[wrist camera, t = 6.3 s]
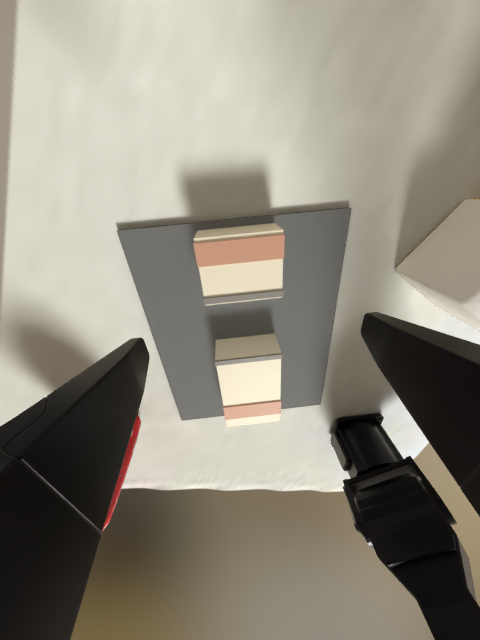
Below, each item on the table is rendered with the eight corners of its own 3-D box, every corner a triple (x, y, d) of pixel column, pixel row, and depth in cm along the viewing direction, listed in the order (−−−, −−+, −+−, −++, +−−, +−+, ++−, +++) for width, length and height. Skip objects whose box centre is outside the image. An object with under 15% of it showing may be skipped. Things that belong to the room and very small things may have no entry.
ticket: (275, 333, 23) (282, 353, 20) (275, 399, 28) (280, 422, 26) (215, 339, 23) (214, 360, 20) (226, 404, 28) (226, 428, 26)
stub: (274, 222, 18) (284, 229, 15) (274, 283, 20) (283, 298, 18) (196, 230, 18) (192, 239, 15) (206, 290, 20) (204, 306, 17)
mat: (348, 207, 18) (351, 208, 18) (319, 401, 30) (320, 404, 29) (118, 229, 18) (116, 230, 17) (182, 417, 29) (181, 420, 29)
